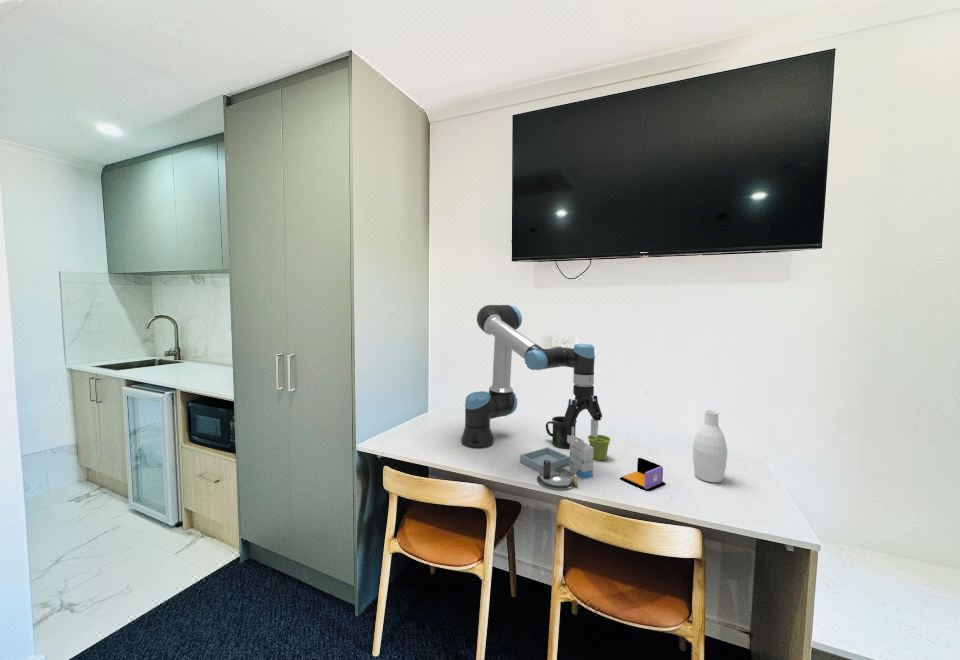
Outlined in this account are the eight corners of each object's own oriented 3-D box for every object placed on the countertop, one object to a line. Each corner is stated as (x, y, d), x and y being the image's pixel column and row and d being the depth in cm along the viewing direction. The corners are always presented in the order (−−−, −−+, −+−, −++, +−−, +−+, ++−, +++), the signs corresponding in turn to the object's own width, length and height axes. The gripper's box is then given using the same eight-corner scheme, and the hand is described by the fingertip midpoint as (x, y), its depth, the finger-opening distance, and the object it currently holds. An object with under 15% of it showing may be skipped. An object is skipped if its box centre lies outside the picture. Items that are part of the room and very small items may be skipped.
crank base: (529, 480, 137) (529, 467, 137) (555, 471, 145) (555, 458, 145) (557, 497, 125) (558, 482, 125) (584, 486, 133) (585, 472, 133)
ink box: (593, 477, 140) (594, 439, 139) (582, 479, 138) (584, 441, 137) (578, 468, 148) (580, 432, 147) (568, 470, 146) (569, 433, 145)
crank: (555, 469, 144) (556, 449, 143) (580, 481, 134) (581, 460, 133) (532, 477, 137) (532, 456, 136) (556, 491, 127) (557, 468, 126)
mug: (571, 451, 165) (572, 425, 165) (541, 444, 173) (541, 419, 173) (579, 443, 174) (579, 418, 174) (550, 437, 182) (550, 413, 182)
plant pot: (583, 457, 158) (583, 438, 158) (593, 451, 165) (593, 432, 165) (604, 464, 152) (604, 443, 151) (613, 457, 159) (614, 437, 158)
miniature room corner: (666, 484, 136) (667, 466, 135) (647, 493, 129) (648, 474, 129) (637, 472, 146) (637, 455, 145) (618, 479, 139) (618, 462, 139)
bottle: (685, 470, 147) (688, 407, 146) (714, 471, 147) (717, 408, 145) (701, 484, 136) (705, 415, 134) (732, 484, 136) (736, 416, 134)
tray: (520, 463, 152) (520, 454, 152) (547, 454, 161) (547, 447, 161) (541, 474, 142) (541, 466, 142) (569, 465, 151) (569, 456, 151)
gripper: (568, 390, 131) (567, 449, 132) (612, 382, 145) (611, 436, 146) (553, 386, 137) (552, 443, 138) (596, 379, 151) (595, 431, 152)
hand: (582, 439), depth 142 cm, fingers open, 13 cm apart
